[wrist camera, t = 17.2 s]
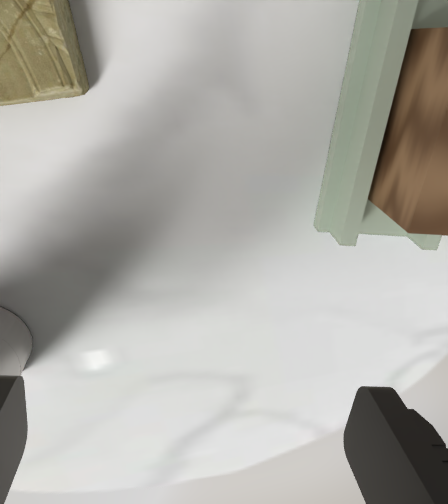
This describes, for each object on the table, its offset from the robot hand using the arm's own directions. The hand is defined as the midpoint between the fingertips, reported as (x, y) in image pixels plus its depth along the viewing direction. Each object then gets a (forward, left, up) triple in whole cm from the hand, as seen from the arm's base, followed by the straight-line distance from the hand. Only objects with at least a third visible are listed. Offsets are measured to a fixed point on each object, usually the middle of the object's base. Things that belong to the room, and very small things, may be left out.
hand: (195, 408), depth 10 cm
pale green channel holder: (+3, -19, -31) cm, 37 cm away
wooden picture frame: (+3, -19, -30) cm, 35 cm away
